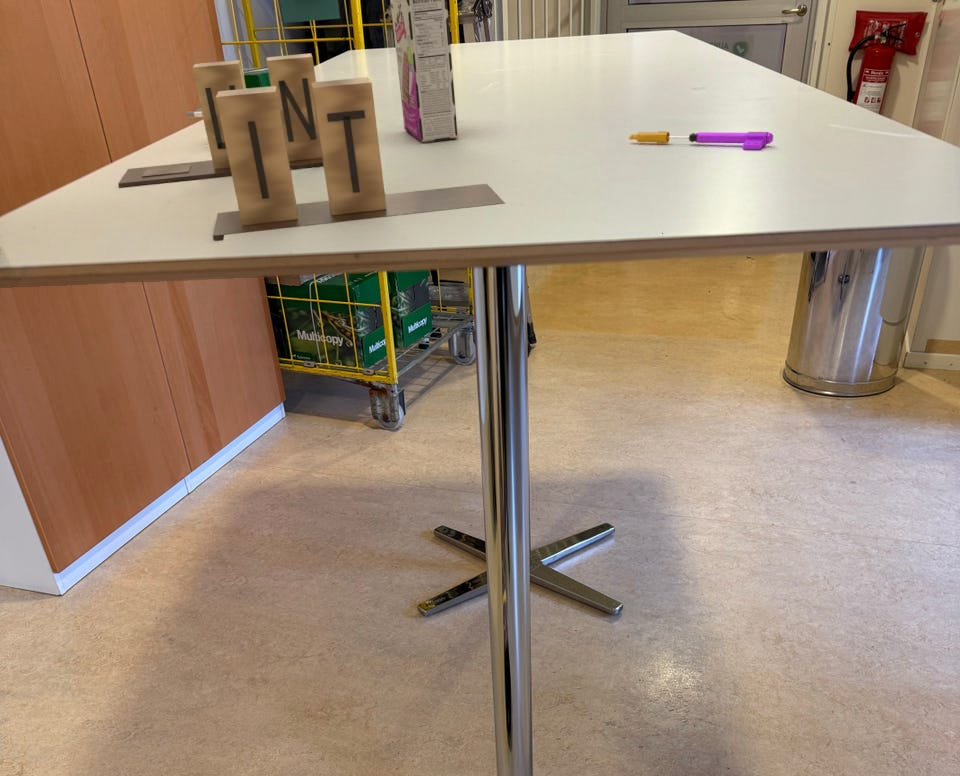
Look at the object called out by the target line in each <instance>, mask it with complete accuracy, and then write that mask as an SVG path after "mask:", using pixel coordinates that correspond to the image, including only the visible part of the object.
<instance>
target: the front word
mask: <svg viewBox="0 0 960 776" xmlns="http://www.w3.org/2000/svg"><path fill="white" fill-rule="evenodd" d="M311 88H312V94H313V101H314V107H315V114H316V120H317V127H318V134H319V140H320V147H321V153H322V160H323V166H322V167H323V173H324V180H325V186H326V192H327V199H328V200H325V201H323V200H322V201H316V202H315V201H314V202H306V203H297V199H296V193H295V187H294V182H293V175H292V171H291V170H292V169H290V164H289V158H288V152H287V146H286V140H285V135H284V129H283V123H282V117H281V111H280V106H279V100H278V94H277V88H276V86H271V85H270V86H262V87H260V86H259V87H249V89H246V88H245V89H238V90H228V91H218V93H217V95H216V101H217V106H218V111H219V116H220V121H221V125H222V130H223V135H224V140H225V145H226V149H227V154H228V159H229V164H230V169H231V173H232V175H231V178H232V182H233V187H234V192H235V197H236V201H237V206H238V210H234V211H233V210H232V211H225V212H217V215H216V219H215V224H214V229H213V232H212V233H213V234H212V239H213V241H221V240H225V236H226V235H227V236H228V235H236V234H237V235H238V234H247V233H253V232H263V231H271V230H281V229H290V228H299V227H307V226H308V227H309V226H315V225H326V224H334V223H335V224H336V223H344V222H353V221H361V220H371V219H378V218H389V217H397V216H405V215H406V216H407V215H416V214H423V213H424V214H425V213H433V212H441V211H450V210H460V209H468V208H478V207H486V206H495V205H496V206H497V205H504V204H506V201H505V202H504V200H503V199H502V198H501V197H500V196H499V195H498V194H497V193H496V192H495V191H494V190H493V189H492V187H491V186H489V184H488V183H480V184H470V185H462V186H461V185H460V186H452V187H443V188H442V187H441V188H434V189H425V190H424V189H423V190H415V191H406V192H398V193H396V192H395V193H389V194H386V193H385V185H384V176H383V169H382V158H381V150H380V142H379V134H378V125H377V117H376V109H375V102H374V101H375V99H374V91H373V82H372V81H371V80H370V78H369V77H366V76H364V77H355V78H344V79H343V78H342V79H333V80H324V81H316V82H312V83H311Z"/></svg>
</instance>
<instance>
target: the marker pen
mask: <svg viewBox="0 0 960 776" xmlns="http://www.w3.org/2000/svg"><path fill="white" fill-rule="evenodd" d="M628 139H629V140H635V141H637V143H656V144H668V143H669V142H670V139H672V140H673V139H677V140H679V139H680V140H684V139H686V140H689V142H691V143H694V142H695V143H697V144H742V150H757V151H758V150H759V151H760V150H761V149H762V148H765V147H766V146H767V145H769V144H771V143H773V141H774V134H772V133H771V132H769V131H748V132H696V133H694V132H692V133H690V134H689V136H687V135H686V136H683V135H680V136H679V135H678V136H677V135H673V136H672V135H670V131H668V130H667V131H665V130H664V131H663V130H662V131H660V130H659V131H657V132H656V131H655V132H654V131H653V132H651V131H650V132H649V131H639V132H637V134H631V135H630V136H629V137H628Z"/></svg>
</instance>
